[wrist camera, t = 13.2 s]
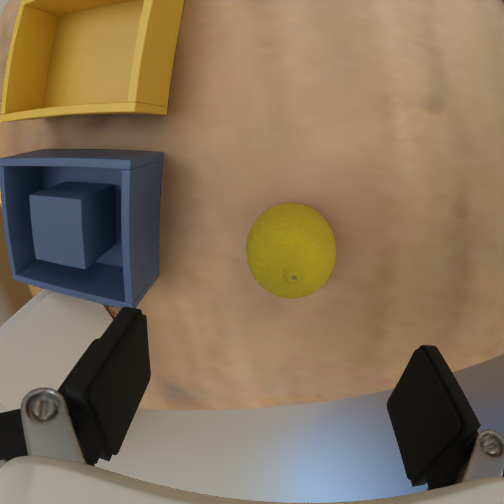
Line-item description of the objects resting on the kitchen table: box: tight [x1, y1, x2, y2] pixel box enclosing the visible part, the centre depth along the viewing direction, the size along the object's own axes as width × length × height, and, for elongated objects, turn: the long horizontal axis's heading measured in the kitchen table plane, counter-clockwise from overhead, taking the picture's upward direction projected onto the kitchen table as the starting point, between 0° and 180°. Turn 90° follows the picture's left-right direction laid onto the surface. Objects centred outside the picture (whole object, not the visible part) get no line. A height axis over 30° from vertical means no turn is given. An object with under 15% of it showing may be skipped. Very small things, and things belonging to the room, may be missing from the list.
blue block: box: [29, 181, 116, 269], centre depth 21 cm, size 5×5×5 cm
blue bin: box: [0, 149, 163, 309], centre depth 21 cm, size 10×12×6 cm
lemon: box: [246, 203, 336, 298], centre depth 19 cm, size 6×6×8 cm
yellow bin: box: [0, 0, 185, 122], centre depth 16 cm, size 10×12×6 cm
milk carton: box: [0, 289, 113, 413], centre depth 19 cm, size 7×7×19 cm
